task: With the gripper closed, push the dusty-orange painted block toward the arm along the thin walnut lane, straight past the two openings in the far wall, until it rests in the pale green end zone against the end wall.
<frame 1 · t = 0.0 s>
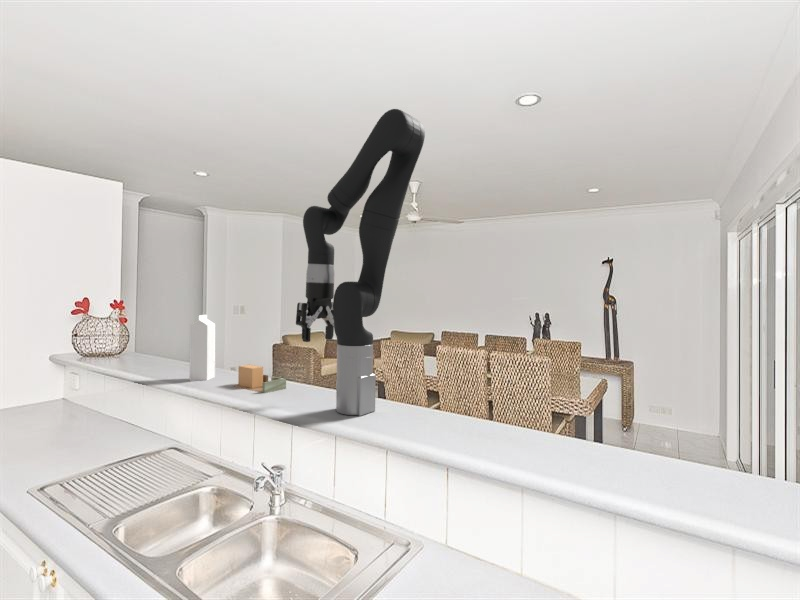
hand: (318, 340, 122), 17 cm above the worktop, tool pointing down, fingers open, 8 cm apart
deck: (258, 388, 139), on the worktop
block: (250, 385, 141), resting on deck
milk: (202, 380, 151), on the worktop
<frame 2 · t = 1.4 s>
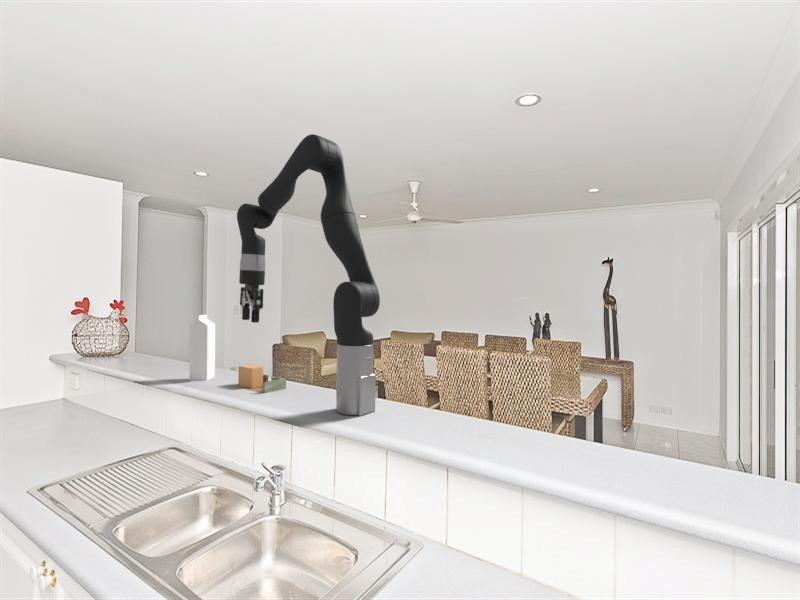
hand: (250, 321, 140), 21 cm above the worktop, tool pointing down, fingers open, 8 cm apart
nothing on the worktop moved.
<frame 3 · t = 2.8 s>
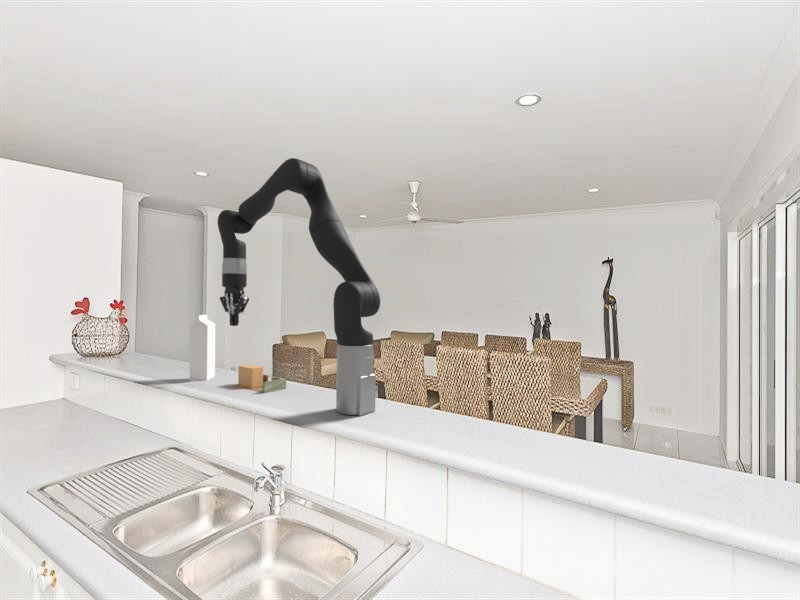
hand: (234, 325, 146), 19 cm above the worktop, tool pointing down, fingers closed
nothing on the worktop moved.
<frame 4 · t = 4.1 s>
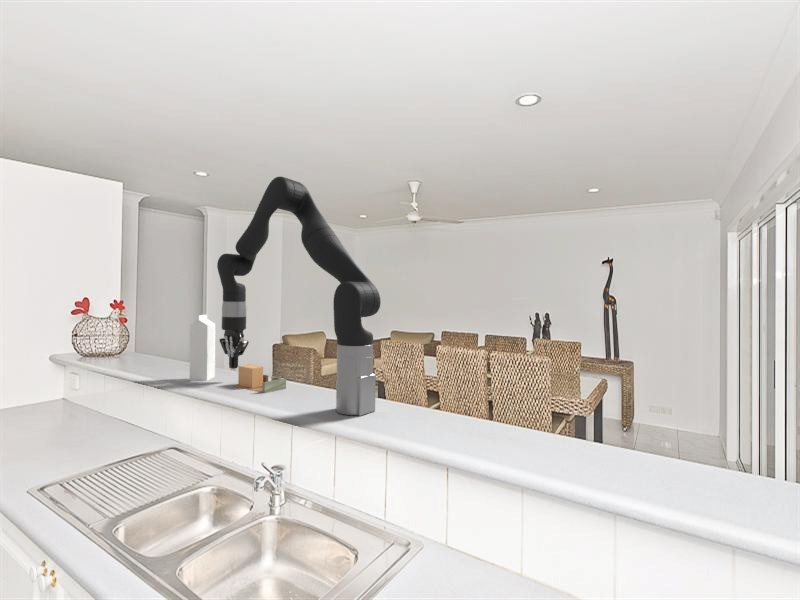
hand: (233, 368, 146), 5 cm above the worktop, tool pointing down, fingers closed
nothing on the worktop moved.
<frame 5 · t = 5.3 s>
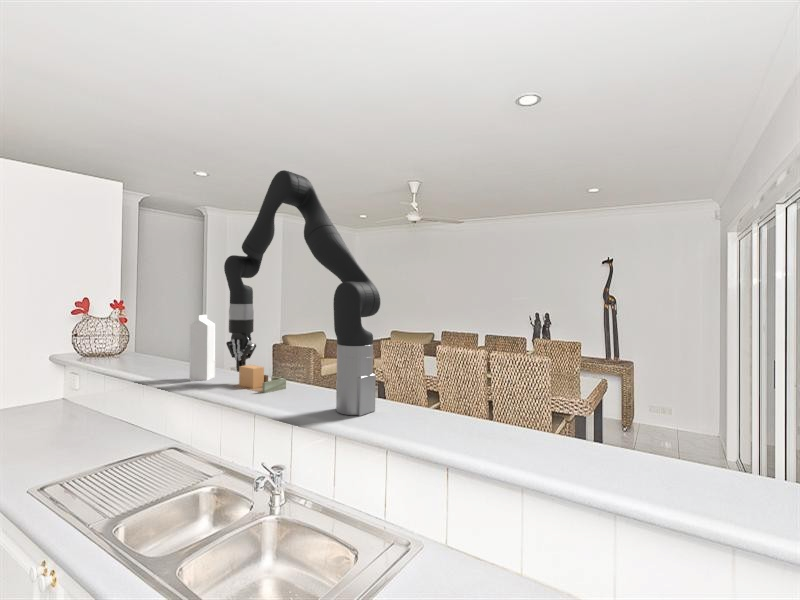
hand: (240, 371, 144), 4 cm above the worktop, tool pointing down, fingers closed
nothing on the worktop moved.
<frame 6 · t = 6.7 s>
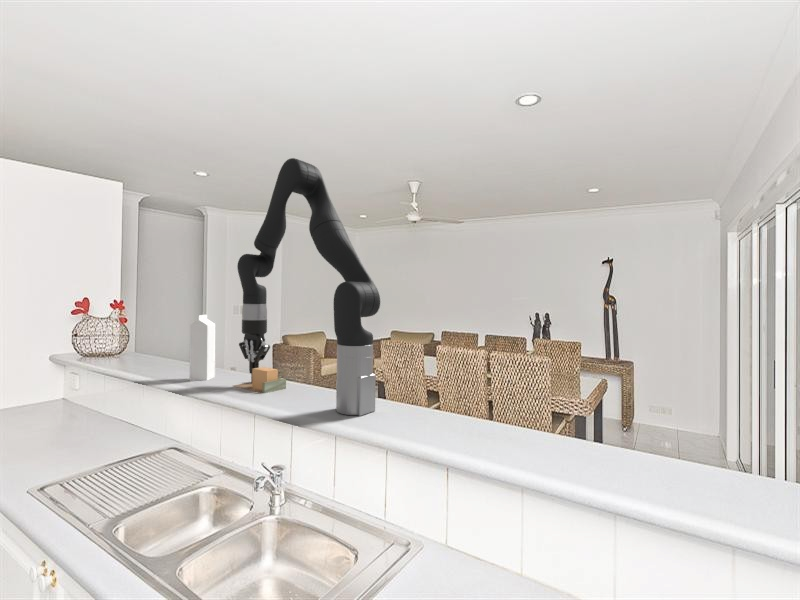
hand: (253, 373, 140), 5 cm above the worktop, tool pointing down, fingers closed
block: (264, 388, 137), resting on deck, touching gripper
everything else where it was.
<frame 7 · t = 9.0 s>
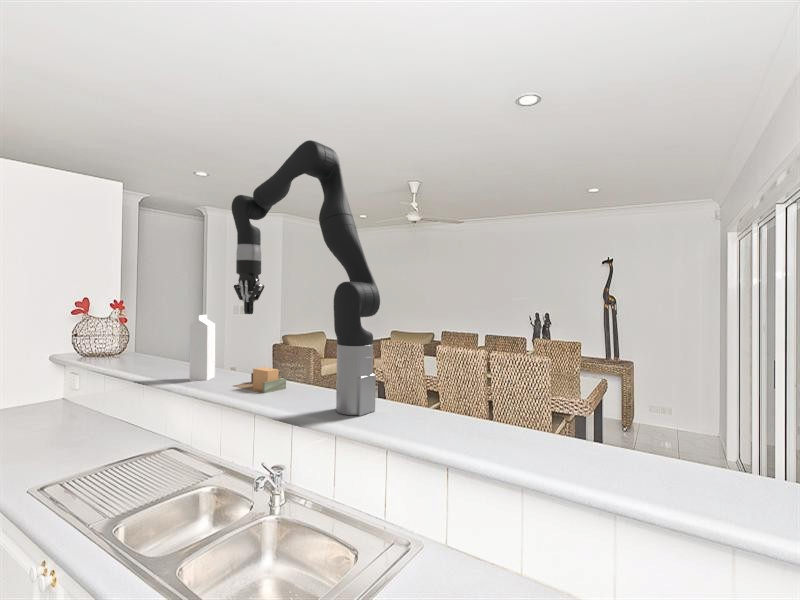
hand: (248, 314, 142), 23 cm above the worktop, tool pointing down, fingers closed
block: (265, 388, 137), resting on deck
everything else where it was.
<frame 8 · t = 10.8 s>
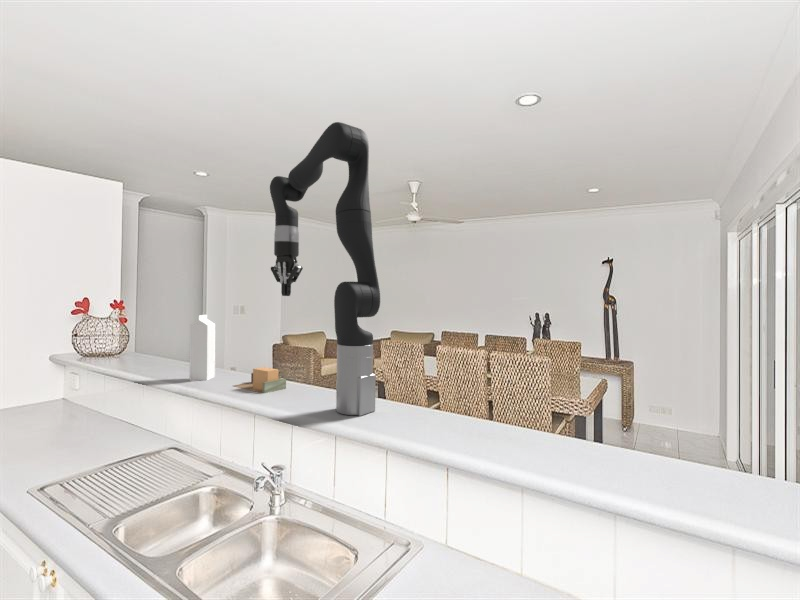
hand: (286, 295, 142), 29 cm above the worktop, tool pointing down, fingers closed
nothing on the worktop moved.
at the end: block 1.3 cm from the target spot on the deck, point 0.5 cm above the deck's base; block tilted 0° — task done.
